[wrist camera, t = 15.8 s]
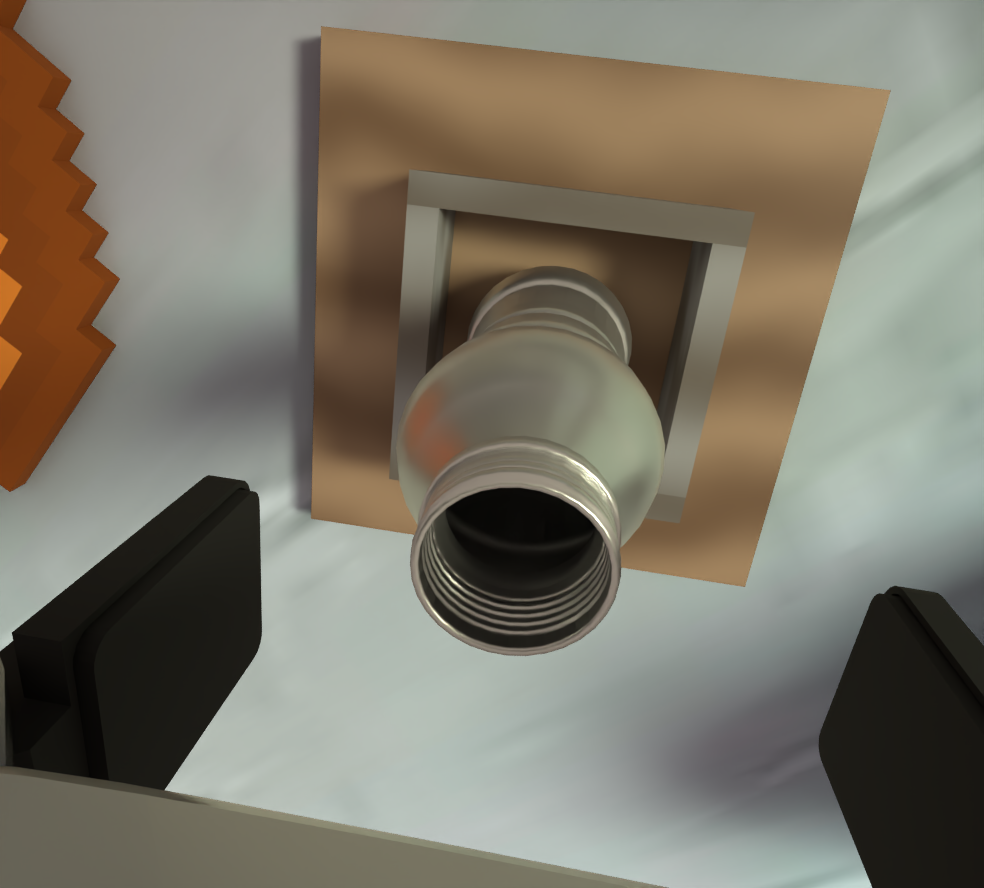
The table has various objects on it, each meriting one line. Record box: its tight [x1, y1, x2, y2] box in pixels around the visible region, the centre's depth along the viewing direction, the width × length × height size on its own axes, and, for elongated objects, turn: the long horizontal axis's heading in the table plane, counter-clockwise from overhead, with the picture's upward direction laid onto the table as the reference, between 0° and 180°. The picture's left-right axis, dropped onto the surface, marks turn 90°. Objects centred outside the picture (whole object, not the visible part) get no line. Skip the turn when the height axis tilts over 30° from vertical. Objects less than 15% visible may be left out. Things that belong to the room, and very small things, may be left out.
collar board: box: [311, 26, 891, 587], centre depth 29 cm, size 22×22×6 cm
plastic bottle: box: [396, 266, 665, 656], centre depth 21 cm, size 6×7×20 cm
